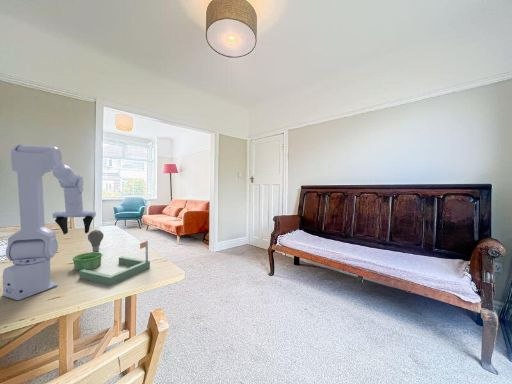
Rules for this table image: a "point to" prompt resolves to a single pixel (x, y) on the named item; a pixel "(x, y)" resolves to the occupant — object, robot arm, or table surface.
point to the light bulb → (95, 239)
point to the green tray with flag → (107, 279)
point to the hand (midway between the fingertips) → (76, 233)
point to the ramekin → (87, 261)
